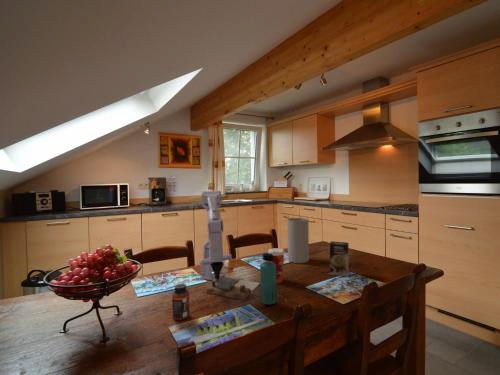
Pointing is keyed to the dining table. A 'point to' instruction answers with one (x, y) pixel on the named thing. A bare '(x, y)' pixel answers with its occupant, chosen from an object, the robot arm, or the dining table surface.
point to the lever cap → (226, 283)
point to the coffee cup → (278, 262)
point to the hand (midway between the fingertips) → (216, 278)
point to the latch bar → (213, 276)
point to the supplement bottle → (180, 302)
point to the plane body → (234, 293)
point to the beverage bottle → (268, 280)
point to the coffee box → (339, 258)
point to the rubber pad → (248, 284)
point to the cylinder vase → (298, 240)
